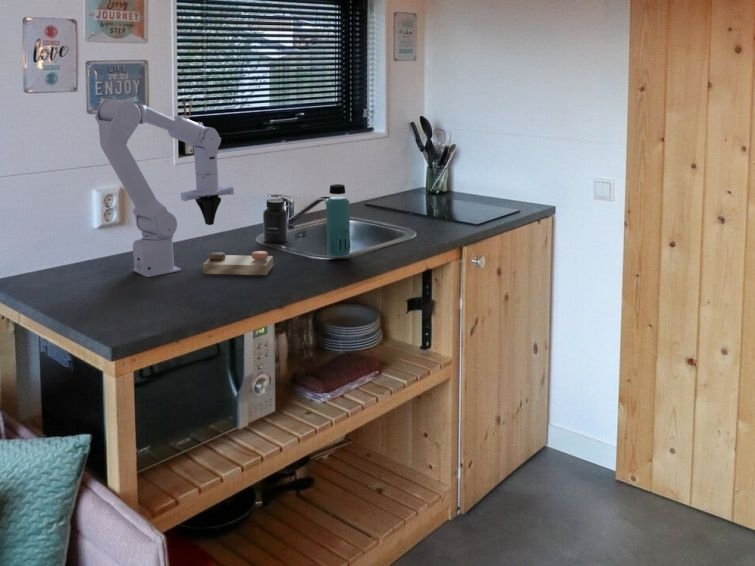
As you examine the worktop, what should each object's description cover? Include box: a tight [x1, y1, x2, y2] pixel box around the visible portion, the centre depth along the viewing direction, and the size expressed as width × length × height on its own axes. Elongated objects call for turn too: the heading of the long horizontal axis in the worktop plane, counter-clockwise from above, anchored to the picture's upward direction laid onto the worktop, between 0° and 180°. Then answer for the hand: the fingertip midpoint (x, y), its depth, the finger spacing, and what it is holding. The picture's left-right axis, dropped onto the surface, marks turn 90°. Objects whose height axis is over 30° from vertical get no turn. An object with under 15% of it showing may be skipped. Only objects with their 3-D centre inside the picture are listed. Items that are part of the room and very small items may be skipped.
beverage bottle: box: [325, 184, 351, 257], centre depth 226 cm, size 6×7×20 cm
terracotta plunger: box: [251, 250, 269, 262], centre depth 218 cm, size 4×4×4 cm
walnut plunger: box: [208, 251, 226, 261], centre depth 219 cm, size 4×4×4 cm
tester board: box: [202, 254, 274, 276], centre depth 218 cm, size 16×9×2 cm, turn 85°
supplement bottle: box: [262, 198, 288, 244], centre depth 246 cm, size 7×7×12 cm
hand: (209, 224), depth 226 cm, fingers closed
